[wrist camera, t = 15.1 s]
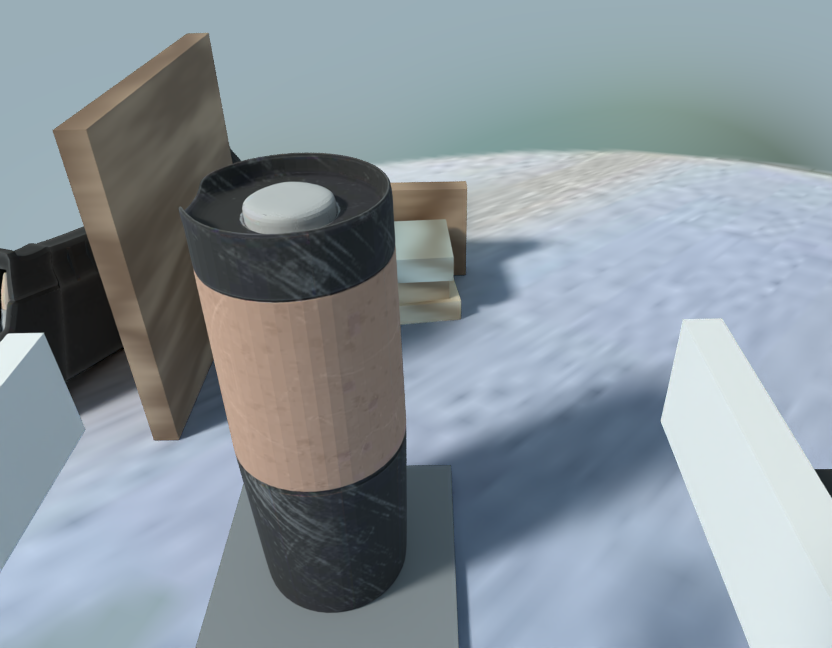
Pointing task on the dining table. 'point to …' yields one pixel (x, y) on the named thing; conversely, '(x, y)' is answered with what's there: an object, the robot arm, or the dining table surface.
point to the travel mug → (309, 365)
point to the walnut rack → (175, 215)
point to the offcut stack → (425, 272)
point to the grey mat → (355, 629)
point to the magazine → (60, 299)
